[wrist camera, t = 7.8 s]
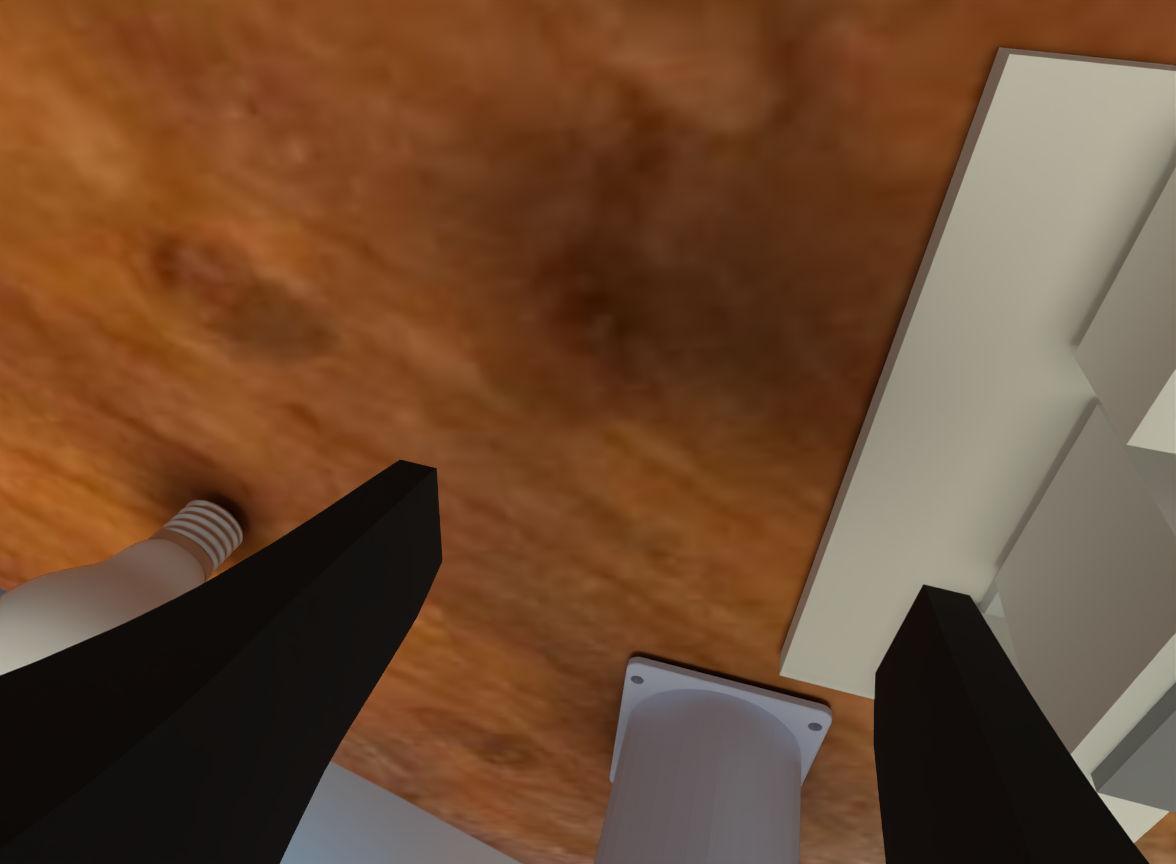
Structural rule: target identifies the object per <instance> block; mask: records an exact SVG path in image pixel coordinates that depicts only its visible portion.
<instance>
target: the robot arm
mask: <svg viewBox="0 0 1176 864" xmlns="http://www.w3.org/2000/svg"><path fill="white" fill-rule="evenodd" d="M441 563H442V547H441V531H440V515H439V499H438V484H437V468H433V467H429V466H425V465H421V464H416V463H412V462H408V461H404V460H399V461H397V462H396V463H394V464H393V465H391V466H390V467H388V468H387V469H385V470H383V471H382V472H380V473H379V474H377V475H376V476H374V477H373V478H371V479H370V480H368V481H367V482H365V483H364V484H362V485H361V486H359V487H358V488H356V489H355V490H353V491H352V492H350V493H349V494H347V495H346V496H344V497H343V498H341V499H340V500H338V501H337V502H335V503H334V504H332V505H331V506H329V507H328V508H326V509H325V510H323V511H322V512H320V513H319V514H317V515H316V516H314V517H313V518H311V519H310V520H308V521H306V522H305V523H303V524H302V525H300V526H299V527H297V528H296V529H294V530H292V531H291V532H289V533H288V534H286V535H285V536H283V537H282V538H280V539H278V540H277V541H275V542H274V543H272V544H270V545H269V546H267V547H265V548H264V549H262V550H260V551H259V552H257V553H255V554H253V555H252V556H250V557H248V558H247V559H245V560H243V561H242V562H240V563H238V564H236V565H235V566H233V567H231V568H230V569H228V570H226V571H225V572H223V573H221V574H219V575H218V576H216V577H214V578H212V579H211V580H209V581H207V582H205V583H203V584H201V585H200V586H198V587H196V588H194V589H192V590H190V591H188V592H186V593H184V594H183V595H181V596H179V597H177V598H175V599H173V600H171V601H169V602H167V603H165V604H163V605H161V606H159V607H157V608H155V609H153V610H151V611H148V612H146V613H144V614H142V615H140V616H138V617H136V618H134V619H132V620H130V621H128V622H126V623H124V624H121V625H119V626H117V627H115V628H112V629H110V630H108V631H105V632H103V633H101V634H99V635H96V636H94V637H92V638H89V639H87V640H85V641H82V642H80V643H78V644H75V645H73V646H71V647H68V648H66V649H64V650H61V651H59V652H57V653H54V654H52V655H50V656H47V657H45V658H43V659H40V660H38V661H36V662H33V663H31V664H28V665H26V666H23V667H21V668H18V669H15V670H13V671H10V672H7V673H5V674H2V675H0V864H280V862H281V860H282V858H283V855H284V853H285V851H286V849H287V847H288V845H289V842H290V840H291V838H292V836H293V834H294V832H295V830H296V828H297V826H298V824H299V821H300V820H301V818H302V815H303V814H304V812H305V810H306V808H307V805H308V804H309V802H310V799H311V797H312V795H313V793H314V791H315V789H316V787H317V785H318V783H319V781H320V779H321V777H322V775H323V773H324V771H325V769H326V767H327V765H328V764H329V762H330V760H331V759H332V757H333V755H334V753H335V751H336V750H337V748H338V746H339V744H340V743H341V741H342V739H343V738H344V736H345V734H346V733H347V731H348V729H349V728H350V726H351V725H352V723H353V721H354V720H355V718H356V716H357V715H358V713H359V712H360V710H361V708H362V707H363V705H364V703H365V702H366V700H367V699H368V697H369V695H370V694H371V692H372V690H373V689H374V687H375V686H376V684H377V682H378V681H379V679H380V677H381V676H382V674H383V673H384V671H385V669H386V668H387V666H388V664H389V663H390V661H391V660H392V658H393V656H394V655H395V653H396V651H397V650H398V648H399V646H400V645H401V643H402V641H403V640H404V638H405V636H406V635H407V633H408V631H409V630H410V628H411V626H412V625H413V623H414V621H415V620H416V618H417V616H418V614H419V612H420V609H421V607H422V605H423V603H424V601H425V599H426V597H427V594H428V592H429V590H430V588H431V585H432V583H433V581H434V579H435V576H436V574H437V572H438V569H439V567H440V565H441ZM831 723H832V711H831V709H830V708H828V707H827V706H826V705H823V704H820V703H816V702H813V701H809V700H805V699H801V698H797V697H793V696H789V695H786V694H782V693H778V692H774V691H770V690H766V689H762V688H759V687H755V686H751V685H747V684H743V683H739V682H735V681H732V680H728V679H724V678H720V677H716V676H712V675H708V674H705V673H701V672H697V671H693V670H689V669H685V668H681V667H677V666H674V665H670V664H666V663H662V662H658V661H654V660H650V659H647V658H643V657H633V658H631V659H630V660H629V662H628V665H627V669H626V676H625V682H624V688H623V695H622V701H621V708H620V714H619V720H618V727H617V733H616V739H615V746H614V752H613V758H612V765H611V771H610V777H609V779H610V781H611V783H612V784H613V785H612V789H611V794H610V798H609V802H608V806H607V811H606V815H605V819H604V823H603V827H602V832H601V836H600V840H599V844H598V848H597V853H596V857H595V861H594V864H800V814H801V786H802V784H803V782H804V780H805V777H806V775H807V773H808V771H809V769H810V767H811V765H812V763H813V761H814V758H815V756H816V754H817V752H818V750H819V748H820V746H821V744H822V742H823V739H824V737H825V735H826V733H827V731H828V729H829V727H830V725H831ZM874 751H875V762H876V772H877V782H878V792H879V802H880V811H881V820H882V830H883V839H884V848H885V857H886V864H1149V863H1148V861H1147V860H1146V859H1145V857H1144V856H1143V855H1142V854H1141V852H1140V851H1139V850H1138V848H1137V847H1136V846H1135V844H1134V843H1133V842H1132V840H1131V839H1130V837H1129V836H1128V835H1127V833H1126V832H1125V831H1124V829H1123V828H1122V826H1121V825H1120V824H1119V822H1118V821H1117V820H1116V818H1115V817H1114V816H1113V814H1112V813H1111V811H1110V810H1109V809H1108V807H1107V806H1106V805H1105V803H1104V802H1103V800H1102V799H1101V798H1100V796H1099V795H1098V794H1097V792H1096V791H1095V789H1094V788H1093V787H1092V785H1091V784H1090V782H1089V781H1088V779H1087V778H1086V776H1085V775H1084V774H1083V772H1082V771H1081V769H1080V768H1079V766H1078V765H1077V763H1076V762H1075V760H1074V759H1073V757H1072V756H1071V754H1070V753H1069V751H1068V750H1067V748H1066V747H1065V745H1064V744H1063V742H1062V741H1061V739H1060V738H1059V736H1058V735H1057V733H1056V732H1055V730H1054V729H1053V727H1052V726H1051V724H1050V723H1049V721H1048V720H1047V718H1046V717H1045V715H1044V714H1043V712H1042V710H1041V709H1040V707H1039V706H1038V704H1037V703H1036V701H1035V699H1034V698H1033V696H1032V695H1031V693H1030V692H1029V690H1028V688H1027V687H1026V685H1025V684H1024V682H1023V680H1022V679H1021V677H1020V676H1019V674H1018V672H1017V671H1016V669H1015V668H1014V666H1013V664H1012V663H1011V661H1010V659H1009V658H1008V656H1007V655H1006V653H1005V651H1004V650H1003V648H1002V646H1001V645H1000V643H999V642H998V640H997V638H996V637H995V635H994V633H993V632H992V630H991V629H990V627H989V625H988V624H987V622H986V620H985V619H984V617H983V616H982V614H981V612H980V611H979V609H978V608H977V606H976V604H975V603H974V601H973V600H972V598H971V596H970V595H967V594H962V593H958V592H954V591H950V590H946V589H941V588H937V587H933V586H929V585H925V584H923V586H922V587H921V589H920V591H919V593H918V595H917V597H916V599H915V600H914V602H913V604H912V606H911V608H910V610H909V612H908V613H907V615H906V617H905V619H904V621H903V623H902V624H901V626H900V628H899V630H898V632H897V634H896V636H895V637H894V639H893V641H892V643H891V645H890V647H889V649H888V650H887V652H886V654H885V656H884V658H883V660H882V662H881V663H880V665H879V667H878V669H877V671H876V673H875V697H874Z"/></svg>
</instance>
